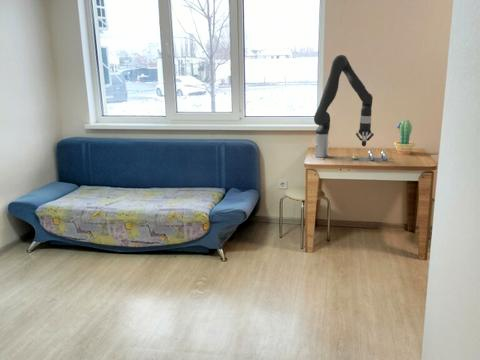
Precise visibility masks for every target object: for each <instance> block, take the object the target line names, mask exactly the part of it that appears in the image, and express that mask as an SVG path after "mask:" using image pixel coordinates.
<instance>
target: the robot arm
mask: <svg viewBox="0 0 480 360" xmlns="http://www.w3.org/2000/svg"><path fill="white" fill-rule="evenodd" d="M342 73H344V75H345V76H346V78H347V80H348V83H349V84H350V86H351V88H352V90H354V92H355V93H356V94H357V96H358V97H359V99H360V101H361V103H362V104H361V109H360V118H359V119H360V120H359V130H358V131H357V132H355V135H356V137H357V138H358V139H359V141H361V146H362V147H366V146H367V141H370V139H372V138H373V137H374V133H373V132H372V130H371V127H372V106H373V95H372V94H371V93H370V92H369V91H368V90H367V89H366V86H365V85H364V83H363V82H362V80H361V79H360V78H359V77H358V75H357V74H356V73H355V71H354V69H353V67H352V66H351V64H350V62H349V60H348V58H347V56H345V55H343V54H338V55H337V56H334V58H333V59H332V62H331V68H330V73H329V75H328V78H327V80H326V83H325V84H324V89H323V92H322V95H321V99H320V101H319V104H318V107H317V109H316V112H315V114H314V117H313V121H314V124H315V125H317V126H318V127H317V128H316V130H315V143H314V145H315V152H314V155H315V156H314V157H315V158H326V157H327V158H328V156H329V155H328V153H329V131H330V127H331V116H330V114H329V112H328V110H329V107H330V105H331V104H332V103H333V101H334V100H335V98H336V96H337V93H338V90H339V84H340V78H341V74H342Z"/></svg>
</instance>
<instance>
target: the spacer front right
mask: <svg viewBox="0 0 480 360" xmlns="http://www.w3.org/2000/svg"><path fill="white" fill-rule="evenodd" d="M388 157H389V153H387V152H386V153H384V154H383V161H382V162H386V161H387V162H388V159H389V158H388Z"/></svg>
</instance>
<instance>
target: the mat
mask: <svg viewBox="0 0 480 360" xmlns="http://www.w3.org/2000/svg"><path fill="white" fill-rule="evenodd" d="M349 160H350V162H371V161H370V158H368V157H359V156H358V160H353V159H352V156H351V157H349ZM373 162H384V161H383V159H382V158H381V157H374V161H373ZM385 162H388V160H387V161H385Z"/></svg>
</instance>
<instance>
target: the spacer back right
mask: <svg viewBox="0 0 480 360" xmlns="http://www.w3.org/2000/svg"><path fill="white" fill-rule="evenodd" d="M384 153H386V154H387V151H385V150H381V154H380V155H381V156H380V158H382V159H383V154H384Z"/></svg>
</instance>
